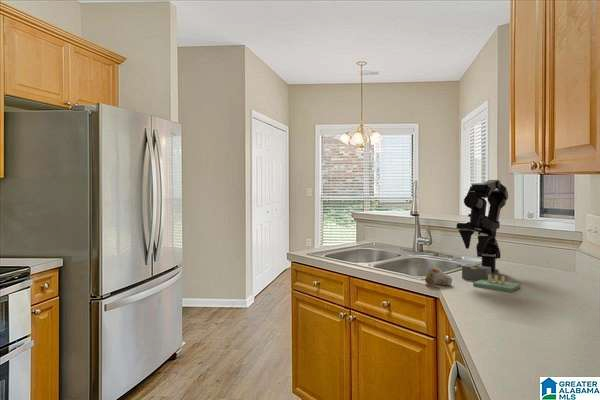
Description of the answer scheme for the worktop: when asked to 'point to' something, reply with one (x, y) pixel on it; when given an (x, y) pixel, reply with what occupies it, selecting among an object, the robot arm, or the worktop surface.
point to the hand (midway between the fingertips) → (474, 250)
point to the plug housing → (475, 272)
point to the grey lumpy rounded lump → (437, 277)
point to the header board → (496, 284)
